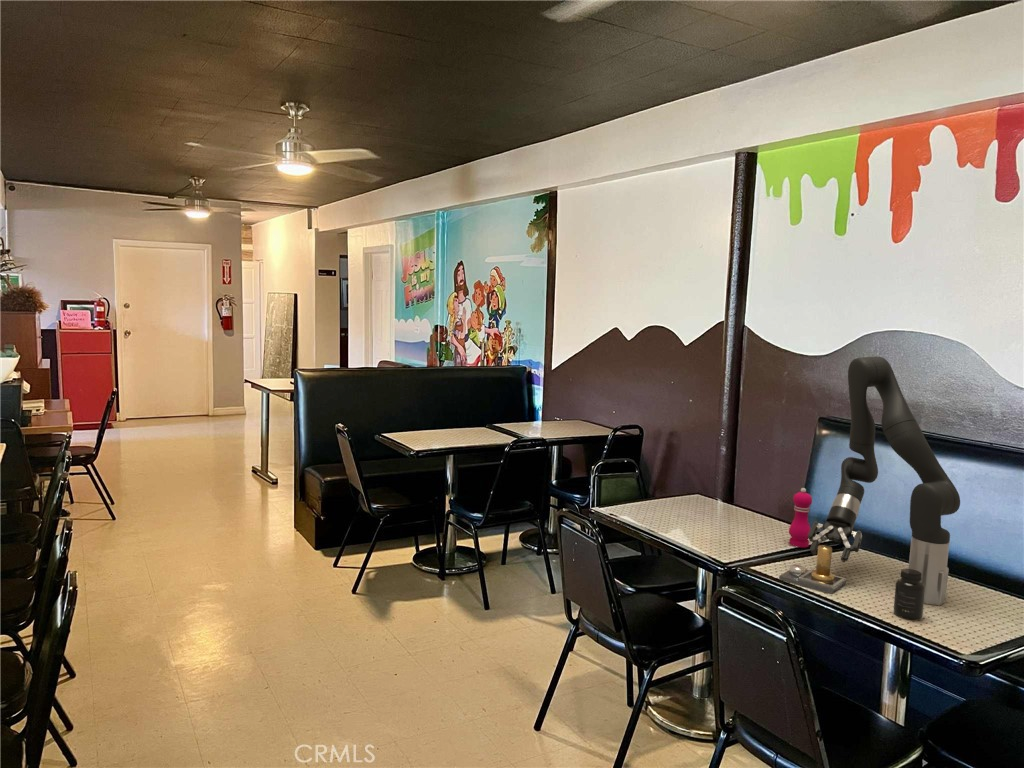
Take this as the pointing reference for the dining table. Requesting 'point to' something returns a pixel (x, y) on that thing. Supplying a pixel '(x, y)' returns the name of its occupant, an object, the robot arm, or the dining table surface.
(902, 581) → the supplement bottle
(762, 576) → the dining table surface
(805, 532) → the pepper mill
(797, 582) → the carrier
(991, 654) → the dining table surface
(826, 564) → the brass knob
